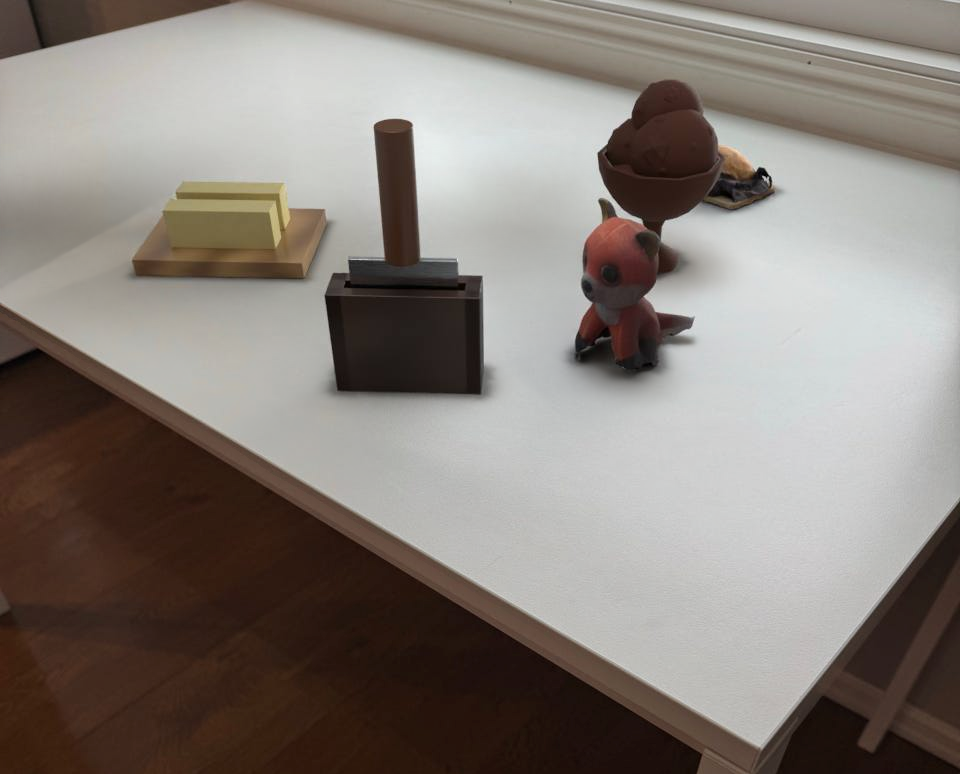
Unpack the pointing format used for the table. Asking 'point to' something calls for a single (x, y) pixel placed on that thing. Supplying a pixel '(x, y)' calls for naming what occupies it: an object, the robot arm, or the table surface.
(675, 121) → the ice cream bowl
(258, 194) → the butter
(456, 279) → the cleaver knife
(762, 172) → the tan mound on tray
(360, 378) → the knife block
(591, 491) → the table surface
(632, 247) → the stuffed fox
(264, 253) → the board
